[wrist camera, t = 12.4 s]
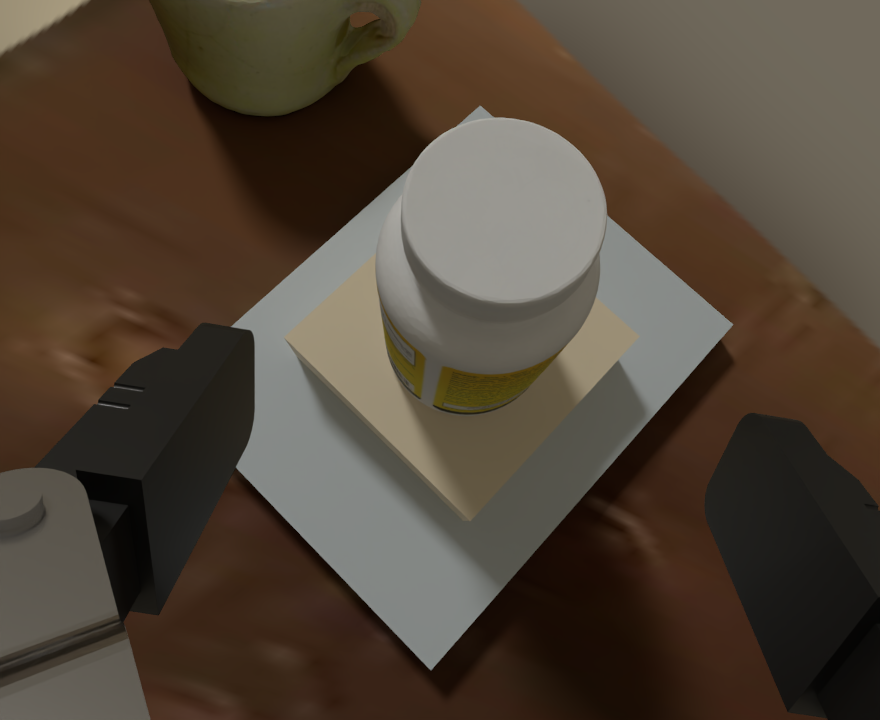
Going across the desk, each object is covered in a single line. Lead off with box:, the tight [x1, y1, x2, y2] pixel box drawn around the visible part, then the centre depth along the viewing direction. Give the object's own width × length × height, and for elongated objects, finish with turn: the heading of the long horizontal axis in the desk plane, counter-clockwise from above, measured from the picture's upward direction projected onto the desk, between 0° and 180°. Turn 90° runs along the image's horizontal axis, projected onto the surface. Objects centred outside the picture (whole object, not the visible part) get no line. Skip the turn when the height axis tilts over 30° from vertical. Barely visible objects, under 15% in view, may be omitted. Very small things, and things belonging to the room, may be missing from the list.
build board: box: [231, 106, 733, 670], centre depth 27 cm, size 20×16×4 cm
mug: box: [149, 0, 421, 116], centre depth 29 cm, size 12×10×10 cm
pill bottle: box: [375, 118, 607, 416], centre depth 19 cm, size 6×6×11 cm
